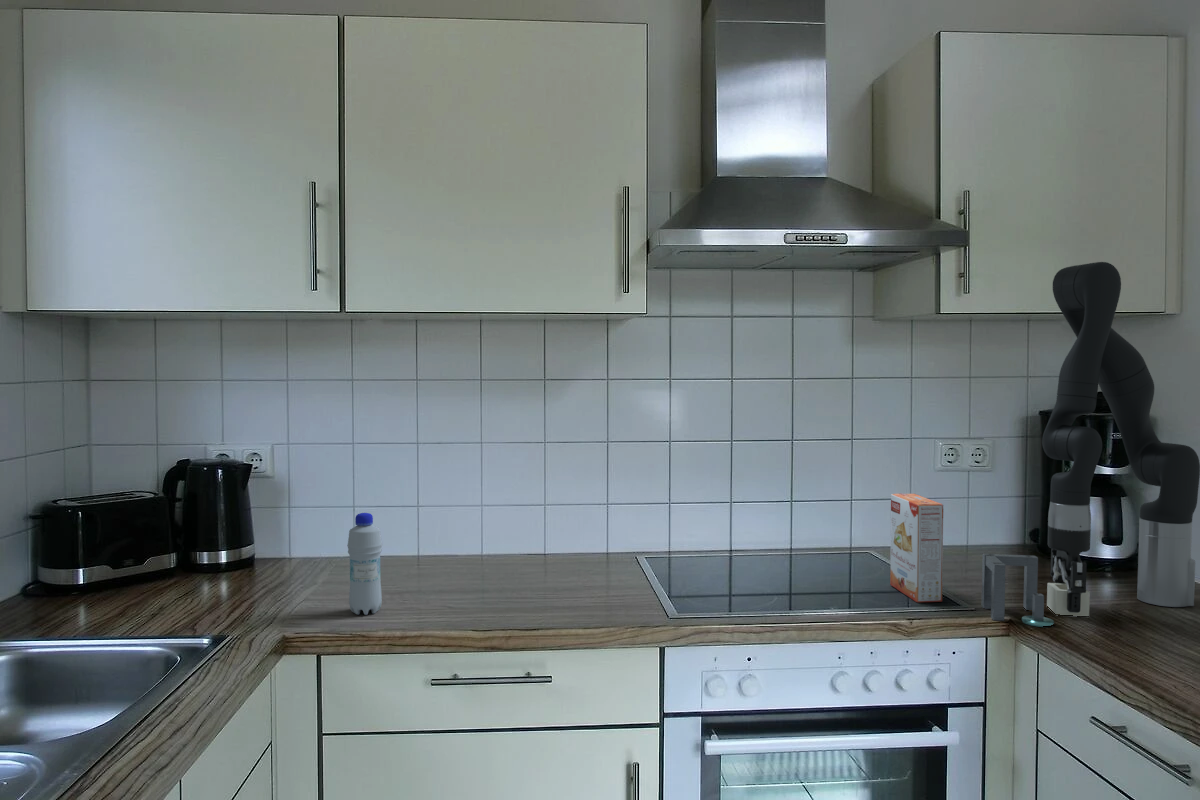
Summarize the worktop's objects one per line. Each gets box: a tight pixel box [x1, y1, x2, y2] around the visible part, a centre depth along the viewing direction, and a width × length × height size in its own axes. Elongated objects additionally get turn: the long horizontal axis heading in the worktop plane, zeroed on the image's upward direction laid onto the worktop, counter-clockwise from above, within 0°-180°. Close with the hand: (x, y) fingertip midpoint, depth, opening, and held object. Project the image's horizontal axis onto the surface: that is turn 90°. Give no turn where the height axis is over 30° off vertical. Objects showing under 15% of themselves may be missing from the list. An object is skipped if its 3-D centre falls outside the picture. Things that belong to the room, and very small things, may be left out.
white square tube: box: [1046, 582, 1091, 617], centre depth 175 cm, size 6×6×5 cm
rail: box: [980, 553, 1039, 622], centre depth 173 cm, size 10×10×11 cm
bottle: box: [347, 512, 383, 616], centre depth 174 cm, size 7×7×20 cm
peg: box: [1021, 592, 1055, 628], centre depth 168 cm, size 6×6×6 cm
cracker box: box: [889, 493, 944, 604], centre depth 188 cm, size 14×6×21 cm, turn 4°
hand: (1066, 606), depth 175 cm, fingers open, 7 cm apart
